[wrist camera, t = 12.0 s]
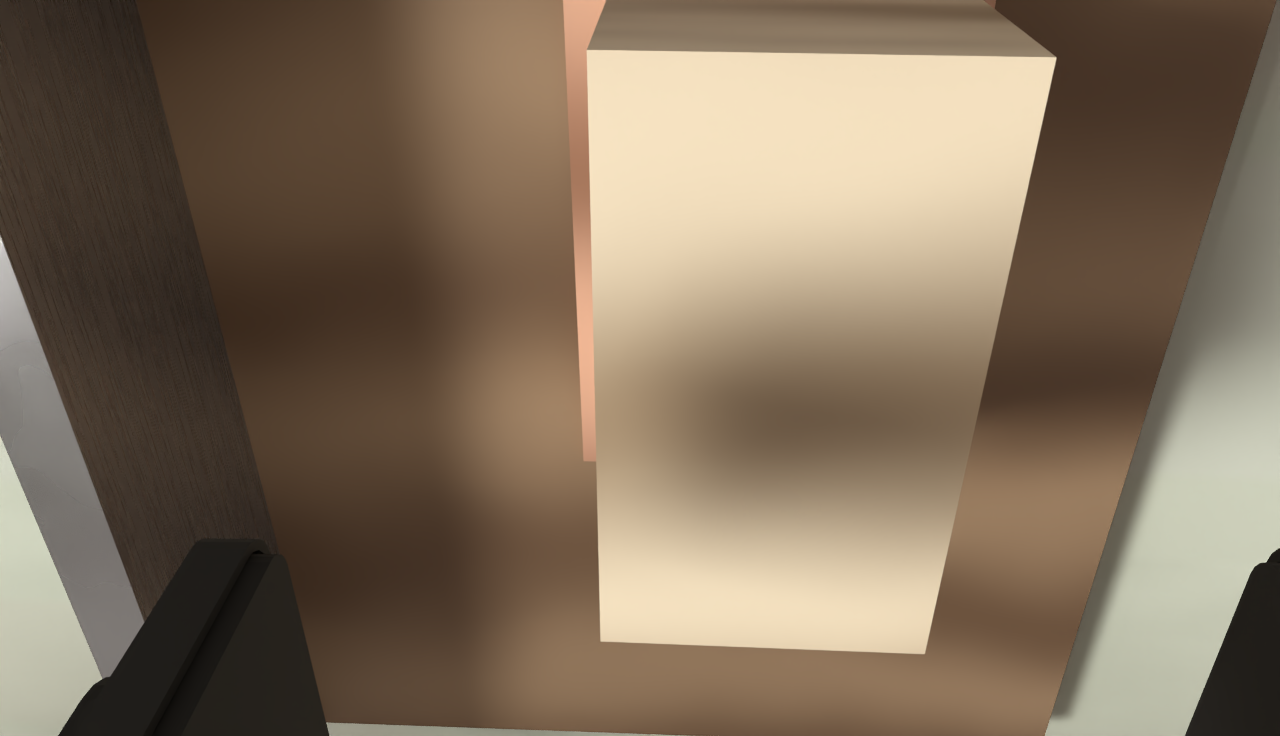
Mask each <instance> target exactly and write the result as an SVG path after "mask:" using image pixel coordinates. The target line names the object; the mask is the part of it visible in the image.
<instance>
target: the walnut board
mask: <svg viewBox="0 0 1280 736" xmlns="http://www.w3.org/2000/svg"><path fill="white" fill-rule="evenodd" d="M984 1H985V2H986V3H987V4H989V5H990V6H991V7H993V8H994V9H995V10H996V11H998V12H999V13H1000V14H1002V15H1003V16H1004V17H1005V18H1007V19H1008V20H1009V21H1011V22H1012V23H1013V24H1014V25H1016V26H1017V27H1018V28H1020V29H1021V30H1022V31H1023V32H1025V33H1026V34H1027V35H1029V36H1030V37H1031V38H1032V39H1034V40H1035V41H1036V42H1038V43H1039V44H1040V45H1041V46H1043V47H1044V48H1045V49H1047V50H1048V51H1049V52H1050V53H1052V54H1053V55H1054V56H1056V57H1057V58H1056V63H1055V67H1054V72H1053V76H1052V81H1051V85H1050V90H1049V94H1048V99H1047V103H1046V108H1045V112H1044V117H1043V121H1042V126H1041V130H1040V135H1039V140H1038V144H1037V149H1036V153H1035V158H1034V162H1033V167H1032V171H1031V176H1030V180H1029V185H1028V189H1027V194H1026V198H1025V203H1024V207H1023V212H1022V216H1021V221H1020V225H1019V230H1018V235H1017V239H1016V244H1015V248H1014V253H1013V257H1012V262H1011V266H1010V271H1009V275H1008V280H1007V284H1006V289H1005V293H1004V298H1003V302H1002V307H1001V311H1000V316H999V321H998V325H997V330H996V334H995V339H994V343H993V348H992V352H991V357H990V361H989V366H988V370H987V375H986V379H985V384H984V388H983V393H982V397H981V402H980V406H979V411H978V416H977V420H976V425H975V429H974V434H973V438H972V443H971V447H970V452H969V456H968V461H967V465H966V470H965V474H964V479H963V483H962V488H961V492H960V497H959V501H958V506H957V511H956V515H955V520H954V524H953V529H952V533H951V538H950V542H949V547H948V551H947V556H946V560H945V565H944V569H943V574H942V578H941V583H940V587H939V592H938V597H937V601H936V606H935V610H934V615H933V619H932V624H931V628H930V633H929V637H928V642H927V646H926V651H925V654H907V653H882V652H856V651H831V650H805V649H780V648H754V647H729V646H703V645H678V644H652V643H627V642H601V641H600V599H599V556H598V513H597V470H596V428H595V385H594V342H593V299H592V257H591V214H590V171H589V128H588V85H587V48H588V45H589V43H590V40H591V38H592V35H593V32H594V30H595V27H596V25H597V22H598V20H599V17H600V15H601V12H602V10H603V7H604V4H605V2H606V0H136V3H137V7H138V11H139V15H140V19H141V22H142V26H143V30H144V34H145V38H146V42H147V46H148V49H149V53H150V57H151V61H152V65H153V69H154V72H155V76H156V80H157V84H158V88H159V92H160V95H161V99H162V103H163V107H164V111H165V115H166V119H167V122H168V126H169V130H170V134H171V138H172V142H173V145H174V149H175V153H176V157H177V161H178V165H179V169H180V172H181V176H182V180H183V184H184V188H185V192H186V195H187V199H188V203H189V207H190V211H191V215H192V218H193V222H194V226H195V230H196V234H197V238H198V242H199V245H200V249H201V253H202V257H203V261H204V265H205V268H206V272H207V276H208V280H209V284H210V288H211V292H212V295H213V299H214V303H215V307H216V311H217V315H218V318H219V322H220V326H221V330H222V334H223V338H224V341H225V345H226V349H227V353H228V357H229V361H230V365H231V368H232V372H233V376H234V380H235V384H236V388H237V391H238V395H239V399H240V403H241V407H242V411H243V415H244V418H245V422H246V426H247V430H248V434H249V438H250V441H251V445H252V449H253V453H254V457H255V461H256V464H257V468H258V472H259V476H260V480H261V484H262V488H263V491H264V495H265V499H266V503H267V507H268V511H269V514H270V518H271V522H272V526H273V530H274V534H275V538H276V541H277V545H278V549H279V553H280V554H281V555H283V556H284V558H285V559H286V562H287V564H288V568H289V572H290V576H291V580H292V584H293V589H294V593H295V597H296V601H297V605H298V609H299V613H300V617H301V622H302V626H303V630H304V634H305V638H306V642H307V646H308V650H309V654H310V659H311V663H312V667H313V671H314V675H315V679H316V683H317V687H318V691H319V696H320V700H321V704H322V708H323V712H324V716H325V720H326V722H331V723H359V724H386V725H414V726H442V727H470V728H498V729H525V730H553V731H581V732H609V733H637V734H664V735H692V736H1045V732H1046V729H1047V726H1048V723H1049V720H1050V717H1051V713H1052V710H1053V707H1054V704H1055V701H1056V698H1057V694H1058V691H1059V688H1060V685H1061V682H1062V679H1063V675H1064V672H1065V669H1066V666H1067V663H1068V660H1069V656H1070V653H1071V650H1072V647H1073V644H1074V641H1075V637H1076V634H1077V631H1078V628H1079V625H1080V622H1081V618H1082V615H1083V612H1084V609H1085V606H1086V603H1087V599H1088V596H1089V593H1090V590H1091V587H1092V584H1093V580H1094V577H1095V574H1096V571H1097V568H1098V565H1099V561H1100V558H1101V555H1102V552H1103V549H1104V546H1105V542H1106V539H1107V536H1108V533H1109V530H1110V527H1111V523H1112V520H1113V517H1114V514H1115V511H1116V508H1117V504H1118V501H1119V498H1120V495H1121V492H1122V489H1123V485H1124V482H1125V479H1126V476H1127V473H1128V469H1129V466H1130V463H1131V460H1132V457H1133V454H1134V450H1135V447H1136V444H1137V441H1138V438H1139V435H1140V431H1141V428H1142V425H1143V422H1144V419H1145V416H1146V412H1147V409H1148V406H1149V403H1150V400H1151V397H1152V393H1153V390H1154V387H1155V384H1156V381H1157V378H1158V374H1159V371H1160V368H1161V365H1162V362H1163V359H1164V355H1165V352H1166V349H1167V346H1168V343H1169V340H1170V336H1171V333H1172V330H1173V327H1174V324H1175V321H1176V317H1177V314H1178V311H1179V308H1180V305H1181V302H1182V298H1183V295H1184V292H1185V289H1186V286H1187V283H1188V279H1189V276H1190V273H1191V270H1192V267H1193V264H1194V260H1195V257H1196V254H1197V251H1198V248H1199V245H1200V241H1201V238H1202V235H1203V232H1204V229H1205V226H1206V222H1207V219H1208V216H1209V213H1210V210H1211V207H1212V203H1213V200H1214V197H1215V194H1216V191H1217V187H1218V184H1219V181H1220V178H1221V175H1222V172H1223V168H1224V165H1225V162H1226V159H1227V156H1228V153H1229V149H1230V146H1231V143H1232V140H1233V137H1234V134H1235V130H1236V127H1237V124H1238V121H1239V118H1240V115H1241V111H1242V108H1243V105H1244V102H1245V99H1246V96H1247V92H1248V89H1249V86H1250V83H1251V80H1252V77H1253V73H1254V70H1255V67H1256V64H1257V61H1258V58H1259V54H1260V51H1261V48H1262V45H1263V42H1264V39H1265V35H1266V32H1267V29H1268V26H1269V23H1270V20H1271V16H1272V13H1273V10H1274V7H1275V4H1276V1H1277V0H984Z"/></svg>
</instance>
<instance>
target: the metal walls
mask: <svg viewBox="0 0 1280 736" xmlns="http://www.w3.org/2000/svg"><path fill="white" fill-rule="evenodd" d="M0 436H1V438H2V441H3V443H4V445H5V448H6V450H7V453H8V455H9V457H10V460H11V462H12V464H13V467H14V469H15V472H16V474H17V476H18V479H19V481H20V483H21V486H22V488H23V491H24V493H25V495H26V498H27V500H28V502H29V505H30V507H31V510H32V512H33V514H34V517H35V519H36V521H37V524H38V526H39V529H40V531H41V533H42V536H43V538H44V540H45V543H46V545H47V548H48V550H49V552H50V555H51V557H52V559H53V562H54V564H55V567H56V569H57V571H58V574H59V576H60V578H61V581H62V583H63V586H64V588H65V590H66V593H67V595H68V597H69V600H70V602H71V605H72V607H73V609H74V612H75V614H76V616H77V619H78V621H79V624H80V626H81V628H82V631H83V633H84V635H85V638H86V640H87V643H88V645H89V647H90V650H91V652H92V654H93V657H94V659H95V662H96V664H97V666H98V669H99V671H100V673H101V676H102V678H103V679H104V678H105V677H110V676H111V674H112V673H113V671H114V670H115V668H116V667H117V665H118V663H119V662H120V660H121V659H122V657H123V655H124V654H125V652H126V651H127V649H128V647H129V646H130V644H131V643H132V641H133V640H134V638H135V636H136V635H137V633H138V632H139V630H140V628H141V627H142V625H143V624H144V622H145V621H146V619H147V617H148V616H149V614H150V613H151V611H152V609H153V608H154V606H155V605H156V603H157V601H158V600H159V598H160V597H161V595H162V594H163V592H164V590H165V589H166V587H167V586H168V584H169V582H170V581H171V579H172V578H173V576H174V575H175V573H176V571H177V570H178V568H179V567H180V565H181V563H182V562H183V560H184V559H185V557H186V555H187V554H188V552H189V551H190V549H191V548H192V547H193V546H194V544H195V543H196V542H197V541H199V540H201V539H203V538H217V539H260V540H263V541H264V542H265V543H266V544H267V546H268V548H269V551H270V554H280V553H279V549H278V545H277V541H276V538H275V534H274V530H273V526H272V522H271V518H270V514H269V511H268V507H267V503H266V499H265V495H264V491H263V488H262V484H261V480H260V476H259V472H258V468H257V464H256V461H255V457H254V453H253V449H252V445H251V441H250V438H249V434H248V430H247V426H246V422H245V418H244V415H243V411H242V407H241V403H240V399H239V395H238V391H237V388H236V384H235V380H234V376H233V372H232V368H231V365H230V361H229V357H228V353H227V349H226V345H225V341H224V338H223V334H222V330H221V326H220V322H219V318H218V315H217V311H216V307H215V303H214V299H213V295H212V292H211V288H210V284H209V280H208V276H207V272H206V268H205V265H204V261H203V257H202V253H201V249H200V245H199V242H198V238H197V234H196V230H195V226H194V222H193V218H192V215H191V211H190V207H189V203H188V199H187V195H186V192H185V188H184V184H183V180H182V176H181V172H180V169H179V165H178V161H177V157H176V153H175V149H174V145H173V142H172V138H171V134H170V130H169V126H168V122H167V119H166V115H165V111H164V107H163V103H162V99H161V95H160V92H159V88H158V84H157V80H156V76H155V72H154V69H153V65H152V61H151V57H150V53H149V49H148V46H147V42H146V38H145V34H144V30H143V26H142V22H141V19H140V15H139V11H138V7H137V3H136V0H0Z"/></svg>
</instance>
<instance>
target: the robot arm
mask: <svg viewBox="0 0 1280 736" xmlns="http://www.w3.org/2000/svg"><path fill="white" fill-rule="evenodd" d="M58 736H329V733H328V728H327V724H326V720H325V716H324V712H323V708H322V704H321V700H320V696H319V691H318V687H317V683H316V679H315V675H314V671H313V667H312V663H311V659H310V654H309V650H308V646H307V642H306V638H305V634H304V630H303V626H302V622H301V617H300V613H299V609H298V605H297V601H296V597H295V593H294V589H293V584H292V580H291V576H290V572H289V568H288V564H287V562H286V559H285V558H284V556H283V555H281V554H270V551H269V548H268V546H267V544H266V543H265V542H264V541H263V540H260V539H217V538H203V539H201V540H199V541H197V542H196V543H195V544H194V546H193V547H192V548H191V549H190V551H189V552H188V554H187V555H186V557H185V559H184V560H183V562H182V563H181V565H180V567H179V568H178V570H177V571H176V573H175V575H174V576H173V578H172V579H171V581H170V582H169V584H168V586H167V587H166V589H165V590H164V592H163V594H162V595H161V597H160V598H159V600H158V601H157V603H156V605H155V606H154V608H153V609H152V611H151V613H150V614H149V616H148V617H147V619H146V621H145V622H144V624H143V625H142V627H141V628H140V630H139V632H138V633H137V635H136V636H135V638H134V640H133V641H132V643H131V644H130V646H129V647H128V649H127V651H126V652H125V654H124V655H123V657H122V659H121V660H120V662H119V663H118V665H117V667H116V668H115V670H114V671H113V673H112V674H111V676H110V677H105V678H104V679H102V680H100V681H99V682H97V683H96V684H94V685H93V686H92V687H91V689H90V690H89V691H88V692H87V694H86V695H85V696H84V697H83V698H82V700H81V701H80V703H79V704H78V706H77V707H76V709H75V710H74V712H73V714H72V715H71V717H70V718H69V720H68V721H67V723H66V724H65V726H64V727H63V729H62V731H61V732H60V734H59V735H58ZM1185 736H1280V548H1279V549H1278V550H1276V551H1275V552H1273V553H1272V554H1271V556H1270V557H1269V559H1268V561H1267V562H1266V563H1260V564H1258V565H1257V566H1255V567H1254V569H1253V571H1252V572H1251V574H1250V576H1249V579H1248V581H1247V584H1246V586H1245V589H1244V591H1243V594H1242V596H1241V599H1240V601H1239V604H1238V606H1237V609H1236V611H1235V613H1234V616H1233V618H1232V621H1231V623H1230V626H1229V628H1228V631H1227V633H1226V636H1225V638H1224V641H1223V643H1222V646H1221V648H1220V651H1219V653H1218V655H1217V658H1216V660H1215V663H1214V665H1213V668H1212V670H1211V673H1210V675H1209V678H1208V680H1207V683H1206V685H1205V688H1204V690H1203V693H1202V695H1201V697H1200V700H1199V702H1198V705H1197V707H1196V710H1195V712H1194V715H1193V717H1192V720H1191V722H1190V725H1189V727H1188V730H1187V732H1186V735H1185Z"/></svg>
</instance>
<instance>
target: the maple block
mask: <svg viewBox="0 0 1280 736" xmlns="http://www.w3.org/2000/svg"><path fill="white" fill-rule="evenodd" d="M1056 58H1057V57H1056V56H1054V55H1053V54H1052V53H1050V52H1049V51H1048V50H1047V49H1045V48H1044V47H1043V46H1041V45H1040V44H1039V43H1038V42H1036V41H1035V40H1034V39H1032V38H1031V37H1030V36H1029V35H1027V34H1026V33H1025V32H1023V31H1022V30H1021V29H1020V28H1018V27H1017V26H1016V25H1014V24H1013V23H1012V22H1011V21H1009V20H1008V19H1007V18H1005V17H1004V16H1003V15H1002V14H1000V13H999V12H998V11H996V10H995V9H994V8H993V7H991V6H990V5H989V4H987V3H986V2H985V1H984V0H606V2H605V4H604V7H603V10H602V12H601V15H600V17H599V20H598V22H597V25H596V27H595V30H594V32H593V35H592V38H591V40H590V43H589V45H588V48H587V85H588V128H589V171H590V214H591V257H592V299H593V342H594V385H595V428H596V470H597V513H598V556H599V599H600V641H601V642H627V643H652V644H678V645H703V646H729V647H754V648H780V649H805V650H831V651H856V652H882V653H907V654H925V651H926V646H927V642H928V637H929V633H930V628H931V624H932V619H933V615H934V610H935V606H936V601H937V597H938V592H939V587H940V583H941V578H942V574H943V569H944V565H945V560H946V556H947V551H948V547H949V542H950V538H951V533H952V529H953V524H954V520H955V515H956V511H957V506H958V501H959V497H960V492H961V488H962V483H963V479H964V474H965V470H966V465H967V461H968V456H969V452H970V447H971V443H972V438H973V434H974V429H975V425H976V420H977V416H978V411H979V406H980V402H981V397H982V393H983V388H984V384H985V379H986V375H987V370H988V366H989V361H990V357H991V352H992V348H993V343H994V339H995V334H996V330H997V325H998V321H999V316H1000V311H1001V307H1002V302H1003V298H1004V293H1005V289H1006V284H1007V280H1008V275H1009V271H1010V266H1011V262H1012V257H1013V253H1014V248H1015V244H1016V239H1017V235H1018V230H1019V225H1020V221H1021V216H1022V212H1023V207H1024V203H1025V198H1026V194H1027V189H1028V185H1029V180H1030V176H1031V171H1032V167H1033V162H1034V158H1035V153H1036V149H1037V144H1038V140H1039V135H1040V130H1041V126H1042V121H1043V117H1044V112H1045V108H1046V103H1047V99H1048V94H1049V90H1050V85H1051V81H1052V76H1053V72H1054V67H1055V63H1056Z"/></svg>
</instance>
